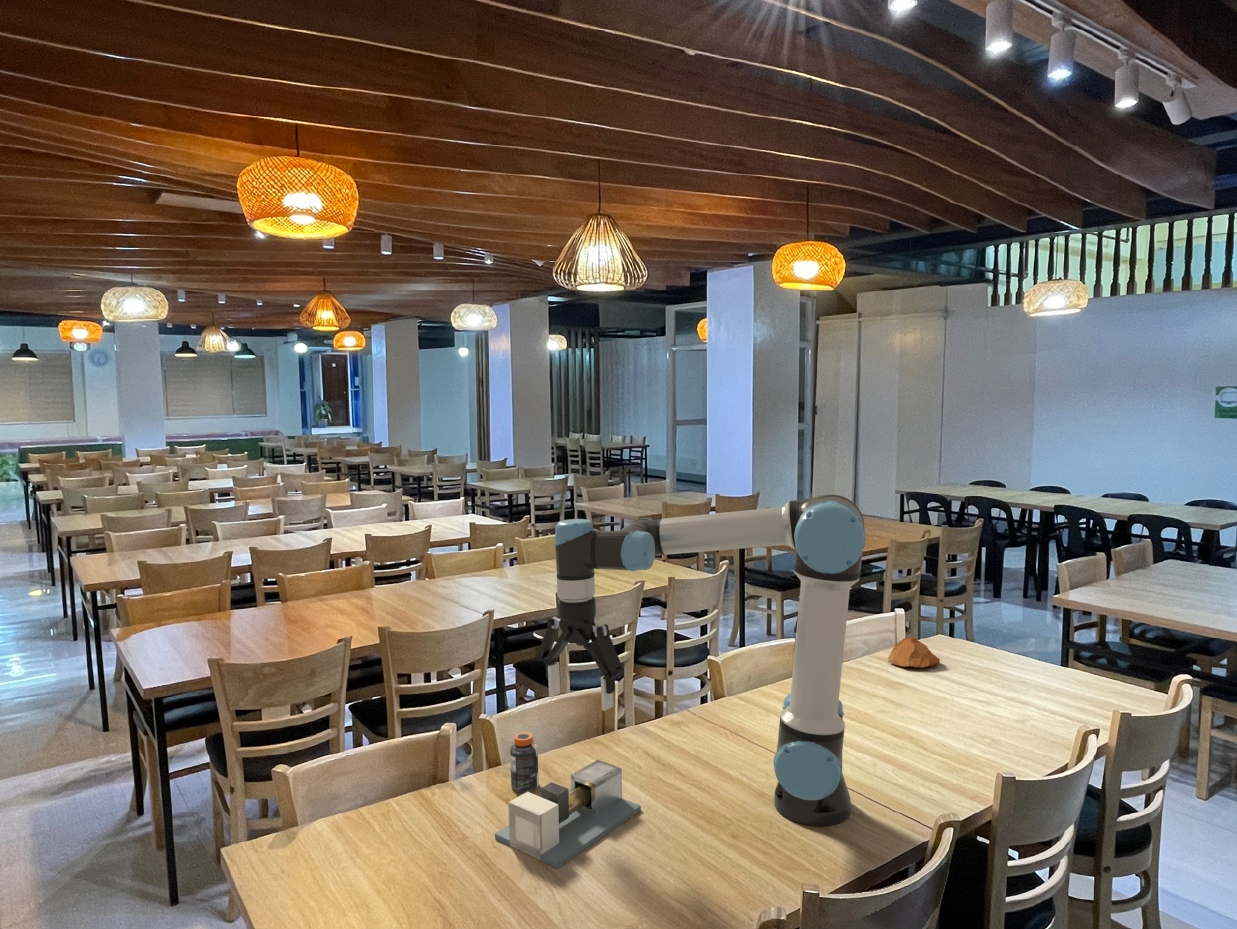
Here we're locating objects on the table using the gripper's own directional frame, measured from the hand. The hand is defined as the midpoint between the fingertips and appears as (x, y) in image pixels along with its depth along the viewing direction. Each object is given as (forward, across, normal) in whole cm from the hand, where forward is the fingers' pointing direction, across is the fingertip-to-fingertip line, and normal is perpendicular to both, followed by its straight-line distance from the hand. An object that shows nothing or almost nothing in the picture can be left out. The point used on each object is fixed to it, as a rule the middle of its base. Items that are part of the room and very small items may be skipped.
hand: (580, 701), depth 161 cm
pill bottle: (+23, +17, 0) cm, 28 cm away
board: (+23, -1, +6) cm, 23 cm away
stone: (+25, -29, -127) cm, 132 cm away
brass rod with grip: (+20, -1, +7) cm, 22 cm away
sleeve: (+22, -1, -2) cm, 22 cm away
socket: (+23, 0, +16) cm, 28 cm away
